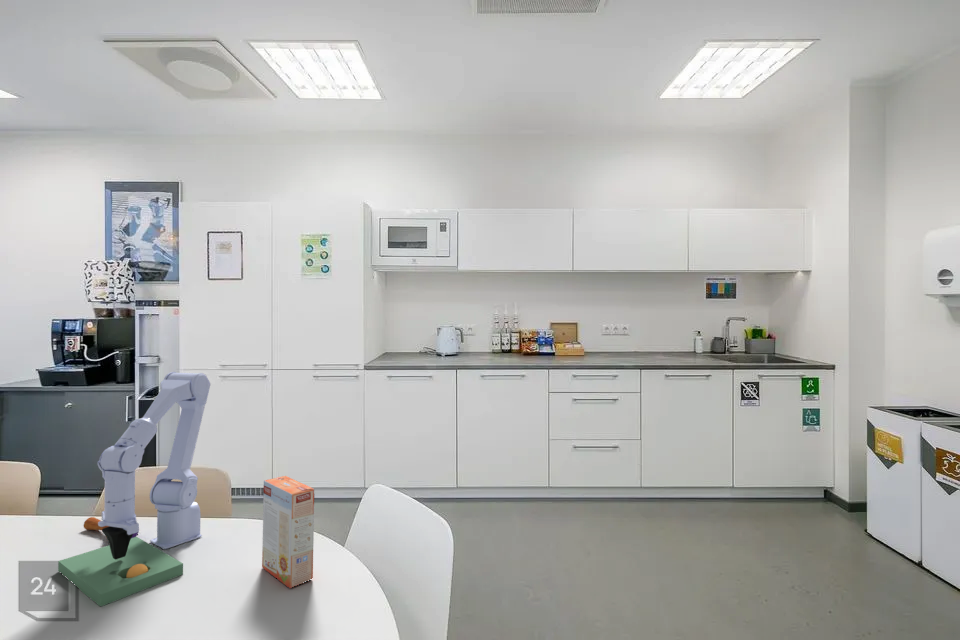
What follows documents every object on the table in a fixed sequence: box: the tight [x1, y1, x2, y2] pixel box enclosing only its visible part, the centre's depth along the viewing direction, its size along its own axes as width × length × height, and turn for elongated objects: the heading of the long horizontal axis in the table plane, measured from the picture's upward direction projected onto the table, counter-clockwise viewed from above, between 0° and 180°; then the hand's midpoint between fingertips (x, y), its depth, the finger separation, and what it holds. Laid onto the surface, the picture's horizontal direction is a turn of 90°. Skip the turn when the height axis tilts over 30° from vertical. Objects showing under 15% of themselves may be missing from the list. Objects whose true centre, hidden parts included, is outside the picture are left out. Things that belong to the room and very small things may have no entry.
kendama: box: [83, 516, 139, 538], centre depth 135 cm, size 6×6×20 cm
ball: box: [126, 564, 148, 578], centre depth 112 cm, size 4×4×4 cm
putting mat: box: [57, 536, 184, 607], centre depth 116 cm, size 16×24×2 cm, turn 56°
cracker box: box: [261, 475, 315, 589], centre depth 117 cm, size 14×6×21 cm, turn 47°
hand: (119, 557), depth 116 cm, fingers closed
